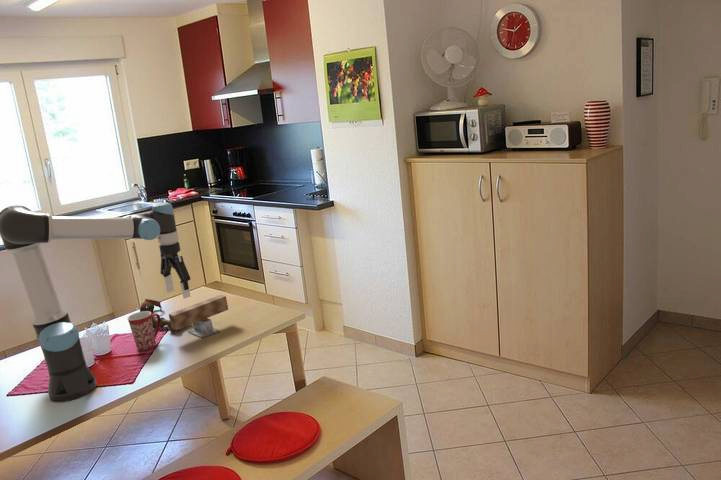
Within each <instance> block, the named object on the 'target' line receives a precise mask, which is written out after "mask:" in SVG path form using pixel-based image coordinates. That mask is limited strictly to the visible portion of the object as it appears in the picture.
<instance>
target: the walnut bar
mask: <svg viewBox="0 0 721 480" xmlns="http://www.w3.org/2000/svg"><path fill="white" fill-rule="evenodd" d="M228 305H229V304H228V299H227V296H226V295H223V294H219V295H216V296H214V297H211V298H208V299H205V300H203V301H200V302H197V303H195V304H192V305H189V306H187V307H186V306H185V307H184V308H181V309H179V310H178V309H177V310H176V311H173V312H170V313H168V318H169V320H170V323H171V328H173V329H175V330H178V329H179V330H180V329H182V328H185V327H188V326H191V325H193V323H196V322H198V321H201V320H203V319H206V318H208V319H209V318H210V317H214V316H216V315H220V314H221V313H224V312H226V311H228V310H229V306H228Z"/></svg>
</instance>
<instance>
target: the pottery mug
mask: <svg viewBox="0 0 721 480" xmlns="http://www.w3.org/2000/svg"><path fill="white" fill-rule="evenodd" d="M161 303H162V302H161V301H158V300H155V299H149V298H144V301H142V303H141V305H140V307H139V312H142V311H149V312H151V315H152V314H154V310H155V307H158V308H160V310H159V311H160V312H162V304H161Z"/></svg>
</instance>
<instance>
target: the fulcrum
mask: <svg viewBox="0 0 721 480" xmlns="http://www.w3.org/2000/svg"><path fill="white" fill-rule="evenodd" d="M192 326H193V328H191V329H190V330H187V333H188V334H191V335H194V336H196V337H198V338H200V339H206V338H208V337H210V336H212V335H216V334H217V333H220V332H221V331H220V329H217V328H215V327H214V326H213V322H212V319H211V318H209V317H208V318H206V319H203V320H201V321H198V322H196V323H193V324H192Z"/></svg>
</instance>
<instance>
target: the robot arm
mask: <svg viewBox="0 0 721 480" xmlns="http://www.w3.org/2000/svg"><path fill="white" fill-rule="evenodd" d="M0 237H1V240H2V243H3V246H4V248H5V250H6V251H7V252H10V253H11V254H12V255H13V258H14V260H15V265H16V266H17V270H18V272H19V276H20V279H21V280H22V284H23V287H24V290H25V292H26V295H27V298H28V300H29V303H30V306H31V310H32V312H33V314H34V318H33V320H32V321H31V323H32V326H33V329H34V332H35V333H34V334H35V335H36V340H37V342H38V344H39V346H40V349H41V350H42V354H43V358H44V361H45V364H46V368H47V372H48V375H49V379H48V388H47V394H48V397H49V398H48V399H49V400H50V401H52V402H55V403H61V402H67V401H72V400H75V399H78V398H79V399H80V398H82V397H83V396H85V395H87V394H89V393H91V392H92V391H94V389H95V388H96V387H97V385H98V383H97V380H96V377H95V376H94V374H93V372H92V371H91V370H90V368H89V367H88V365H87V362H86V359H85V356H84V355H85V354H84V351H83V348H82V344H81V339H80V332H79V330H78V328H77V326H76V325H75V324H73V323H72V321H71V318H70V316H69V312H68V310H66V309H64V308H62V307H61V304H60V300H59V297H58V295H57V292H56V289H55V286H54V283H53V280H52V278H51V274H50V271H49V269H48V266H47V263H46V260H45V256H44V254H43V251H42V248H41V245H42V244H45V243H46V244H47V243H50V242H51V241H52V240H55V241H56V240H58V241H59V240H107V239H108V240H114V239H116V240H117V239H118V240H121V239H125V240H126V239H133V240H135V239H137V240H141V239H142V240H145V241H152V240H155V239H157V240H158V244H159V252H160V275H162V276H163V278H164V283H165V288H166V293H172V292H174V291H175V288H174V283H173V278H172V277H173V276H172V273H171V271H172V269H174V271H175V272H176V274H177V276H178V278H179V279H180V281H179V283H180V288H181V293H182V298H183V299H187V298H190V297H191V291H190V286H189V281H191V280H192V279H191V276H190V274H189V271H188V268H187V267H186V263H185V262H184V257H183V255H180V256H179V252H180V251H181V245H180V242H179V241H180V240H179V234H178V230H177V226H176V217H175V213H174V209H173V205H172V204H171V203H170V202H160V203H156V204H153V205H152V206H151V210H149V211H145V212H140V213H136V214H135V213H133V214H128V215H125V216H121V217H120V216H119V217H116V216H114V217H112V216H111V217H109V216H108V217H107V216H101V217H99V216H52V215H51V214H49V213H41V212H33V211H32V210H31V209H29V207H26V206H23V205H17V204H16V205H10V206H6V207H5V208H3V209H2V210H1V211H0Z"/></svg>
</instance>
